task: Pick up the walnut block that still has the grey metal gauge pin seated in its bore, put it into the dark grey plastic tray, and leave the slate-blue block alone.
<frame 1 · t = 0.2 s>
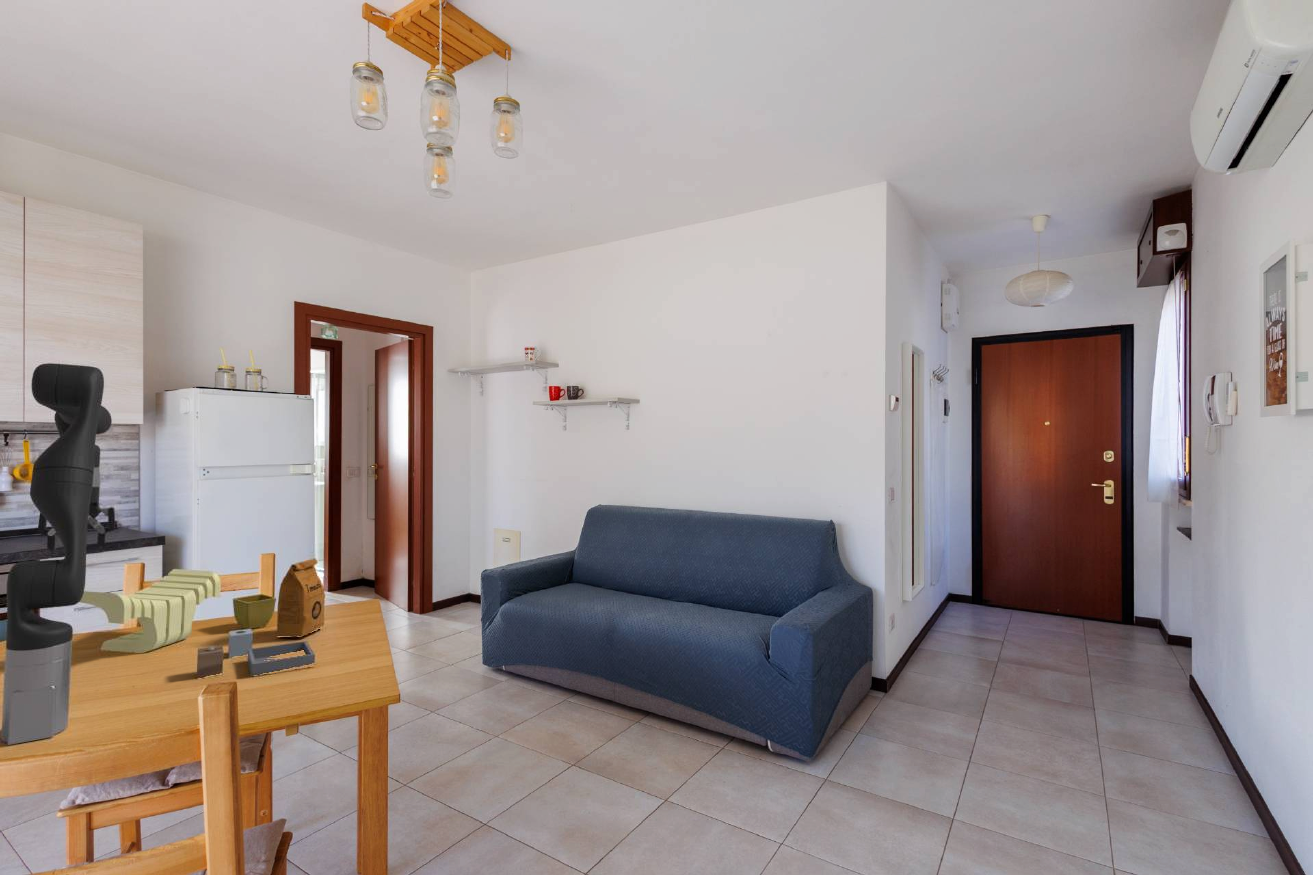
hand: (76, 549, 157), 29 cm above the table, tool pointing down, fingers open, 8 cm apart
tray: (280, 664, 162), on the table
slate block: (239, 654, 169), on the table
slatted curved stool: (148, 645, 174), on the table
coffee package: (300, 634, 188), on the table
flower pot: (253, 627, 193), on the table
walnut block: (209, 674, 154), on the table
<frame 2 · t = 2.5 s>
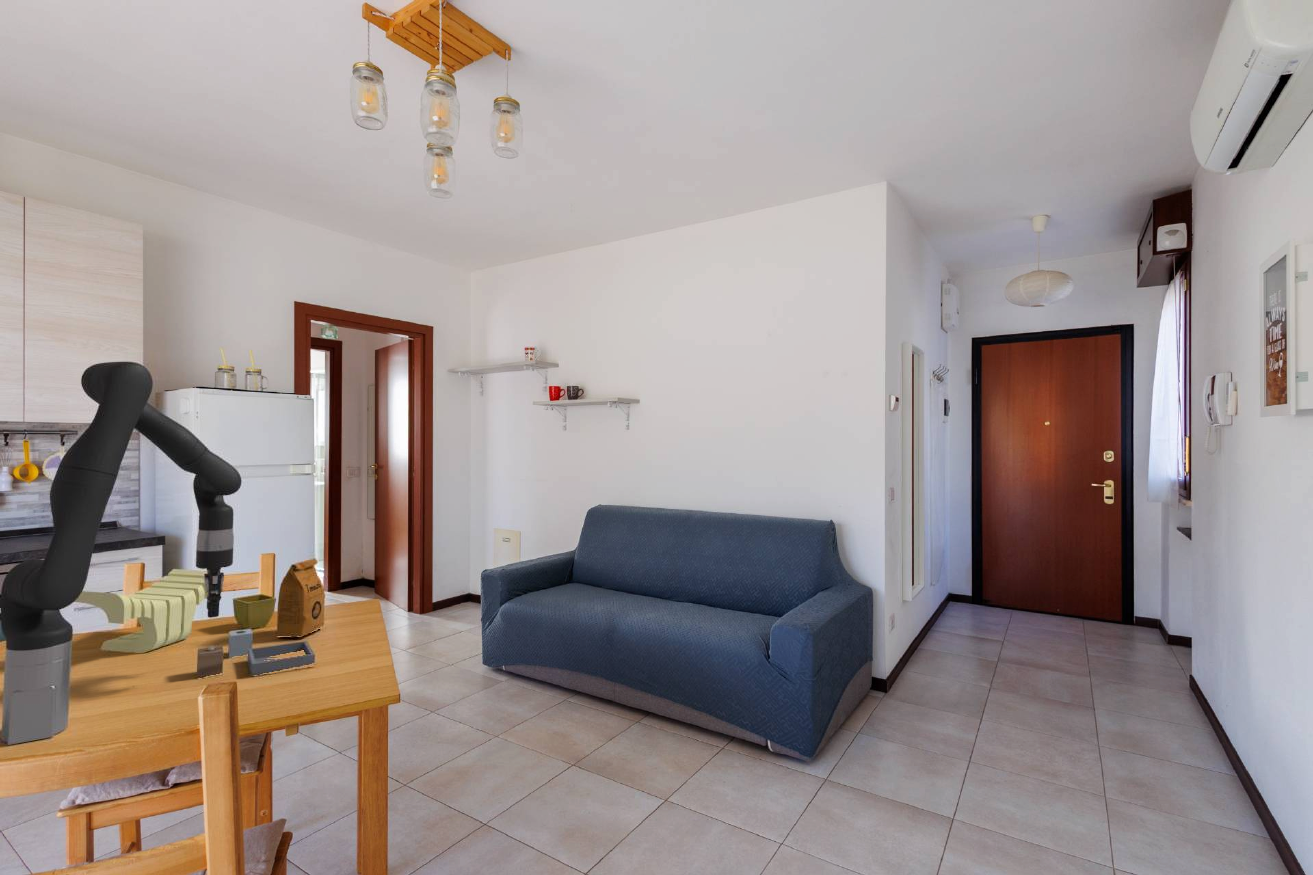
hand: (212, 612, 154), 15 cm above the table, tool pointing down, fingers open, 8 cm apart
nothing on the table moved.
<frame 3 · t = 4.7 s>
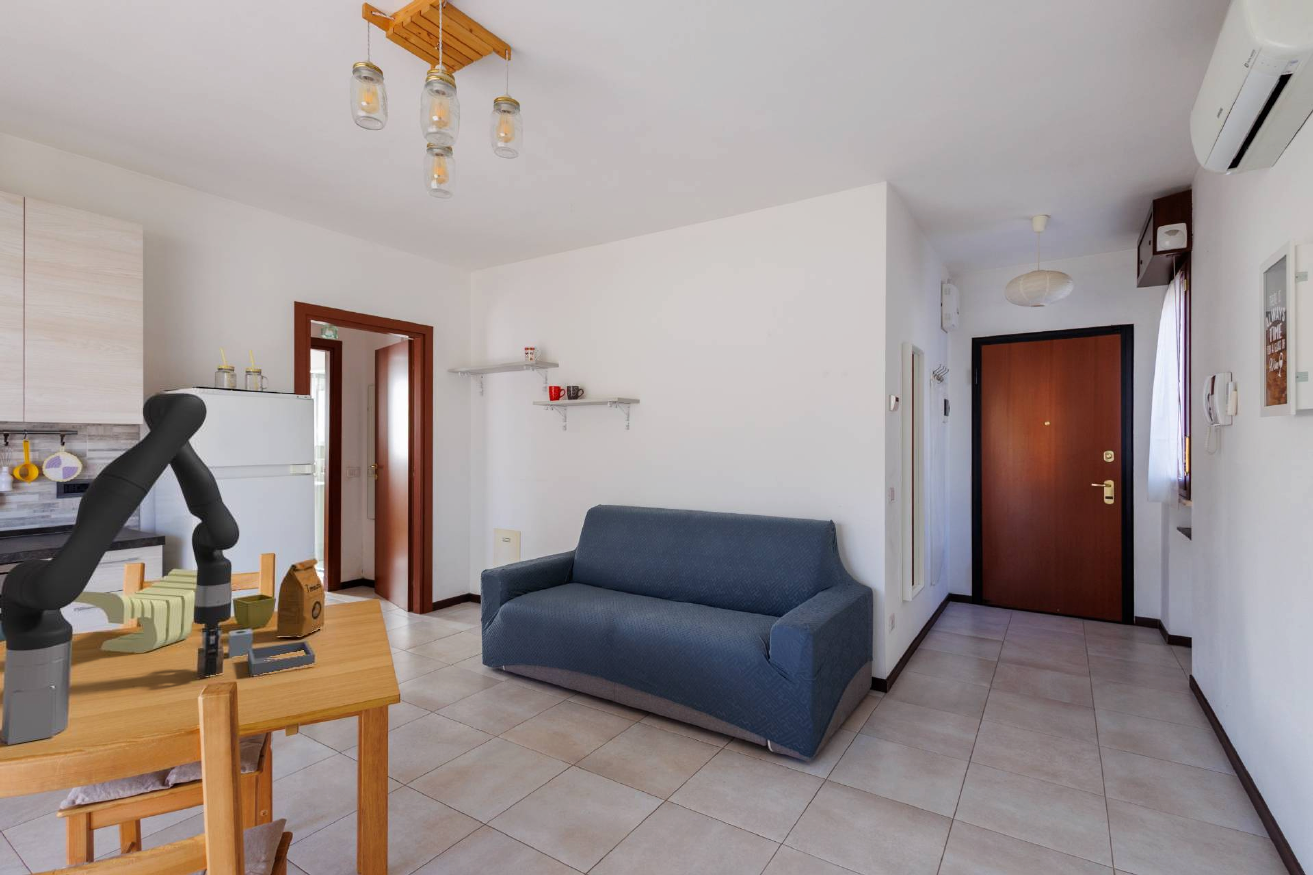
hand: (209, 670, 154), 1 cm above the table, tool pointing down, fingers closed on walnut block, 5 cm apart
walnut block: (209, 673, 154), on the table, touching gripper
everything else where it was.
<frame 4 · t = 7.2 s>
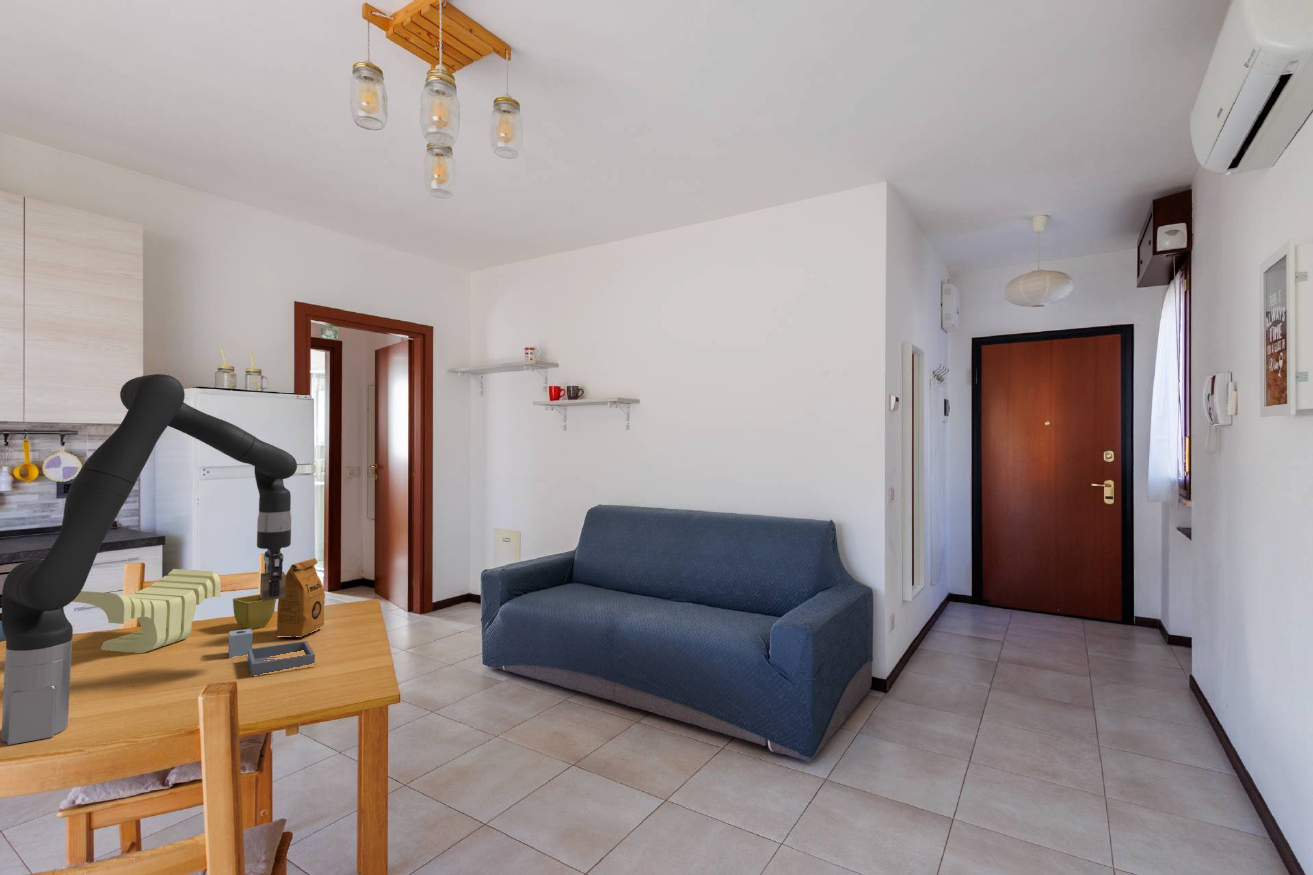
hand: (272, 593, 162), 18 cm above the table, tool pointing down, fingers closed on walnut block, 5 cm apart
walnut block: (272, 597, 162), point 17 cm above the table, touching gripper
everything else where it was.
when the fingers open (3 cm above the table, at t = 10.1 s): walnut block drops 1 cm, resting on tray.
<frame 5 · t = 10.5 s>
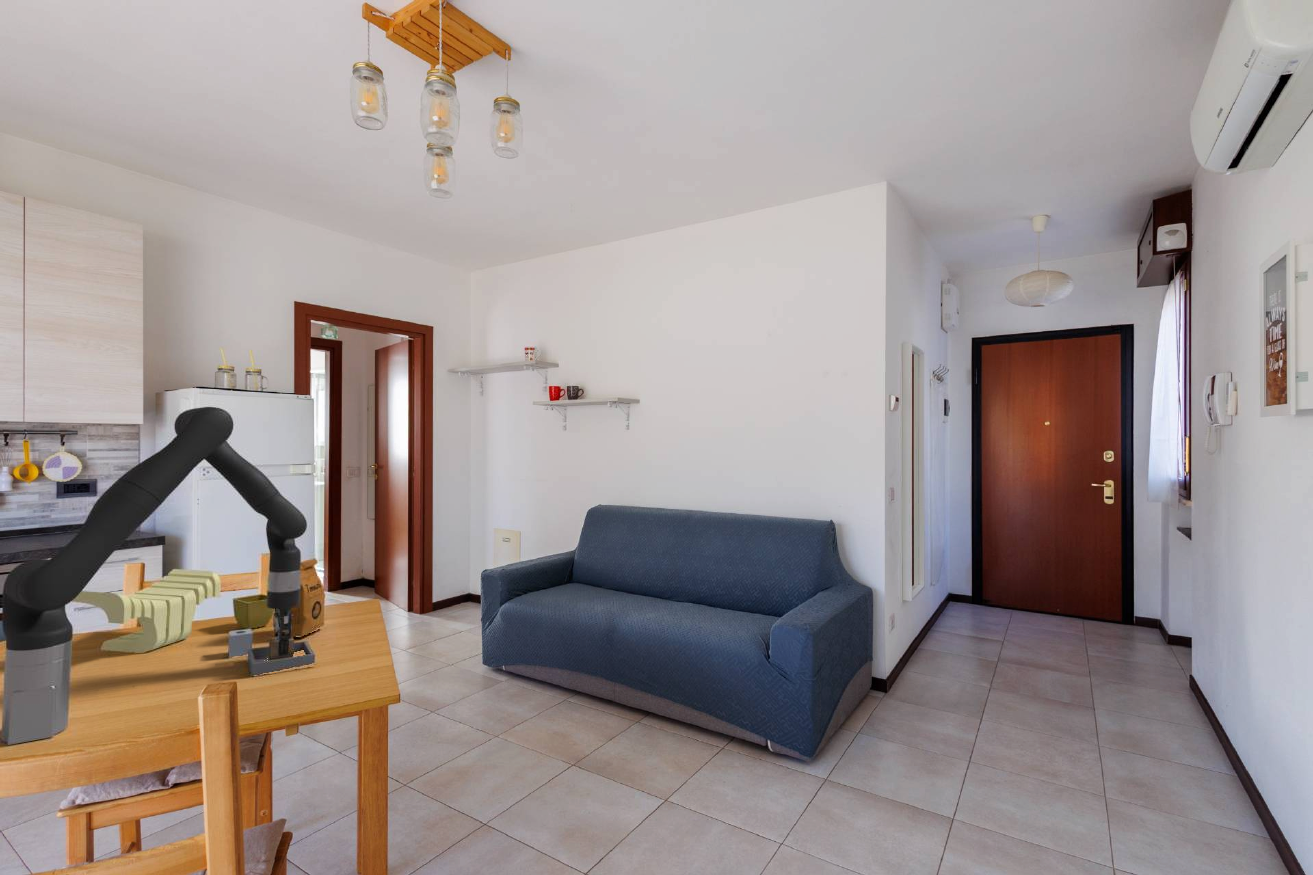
hand: (281, 650, 162), 4 cm above the table, tool pointing down, fingers open, 8 cm apart
walnut block: (280, 661, 162), point 1 cm above the table, touching tray
everything else where it was.
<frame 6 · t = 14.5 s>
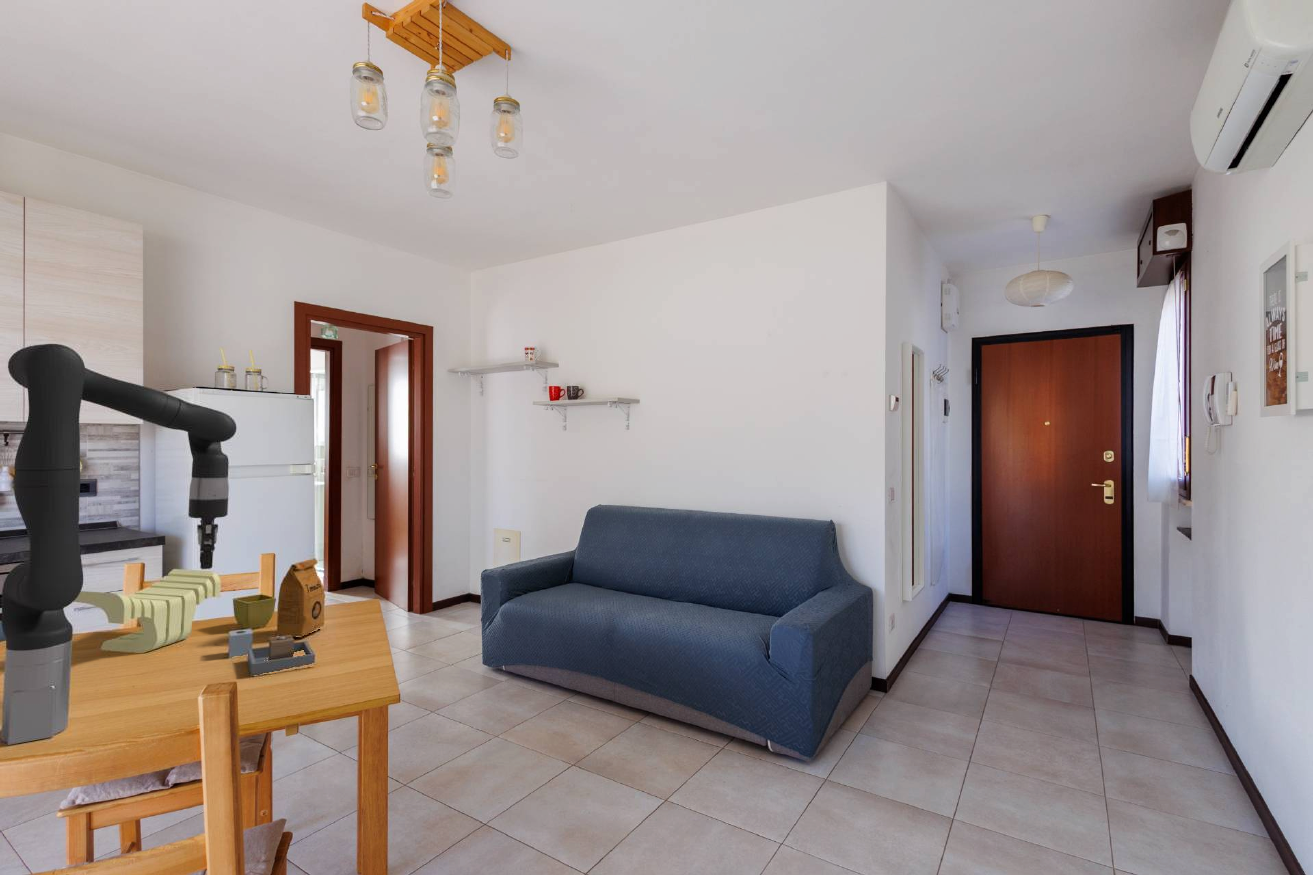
hand: (205, 565, 147), 28 cm above the table, tool pointing down, fingers open, 8 cm apart
nothing on the table moved.
at the end: walnut block inside the target area on the tray (0.2 cm from its centre), point 0.6 cm above the tray's base; the gripper is holding nothing; slate block moved 0.1 cm from its start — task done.
